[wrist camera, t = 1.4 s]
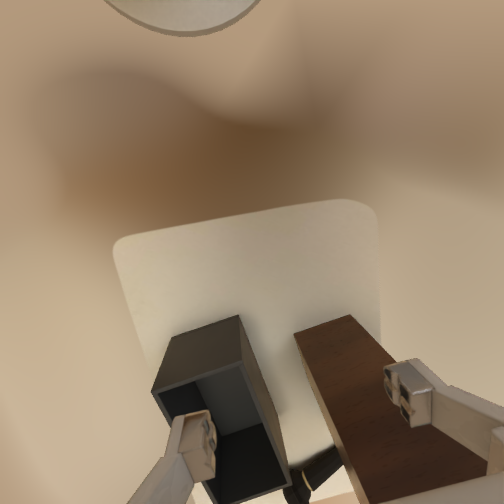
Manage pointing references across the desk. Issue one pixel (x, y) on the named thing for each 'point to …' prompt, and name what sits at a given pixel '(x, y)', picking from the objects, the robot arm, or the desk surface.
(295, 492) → the microphone
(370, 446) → the stand
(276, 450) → the bin
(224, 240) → the desk surface
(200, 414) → the robot arm
